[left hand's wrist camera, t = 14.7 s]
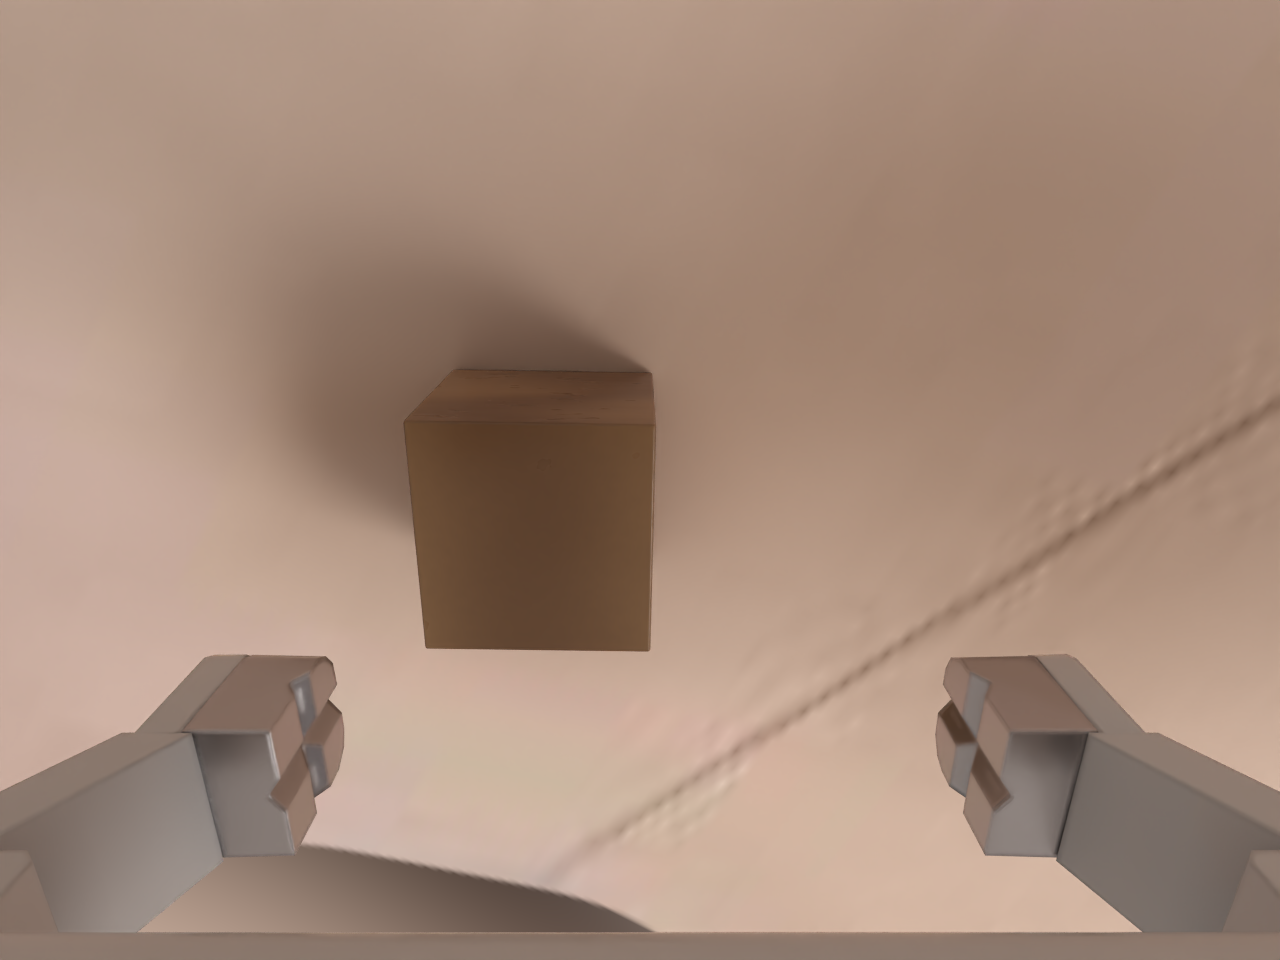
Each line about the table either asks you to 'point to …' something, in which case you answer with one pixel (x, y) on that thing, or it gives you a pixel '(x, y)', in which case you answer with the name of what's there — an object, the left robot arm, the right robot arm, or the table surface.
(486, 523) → the block
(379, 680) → the table surface
